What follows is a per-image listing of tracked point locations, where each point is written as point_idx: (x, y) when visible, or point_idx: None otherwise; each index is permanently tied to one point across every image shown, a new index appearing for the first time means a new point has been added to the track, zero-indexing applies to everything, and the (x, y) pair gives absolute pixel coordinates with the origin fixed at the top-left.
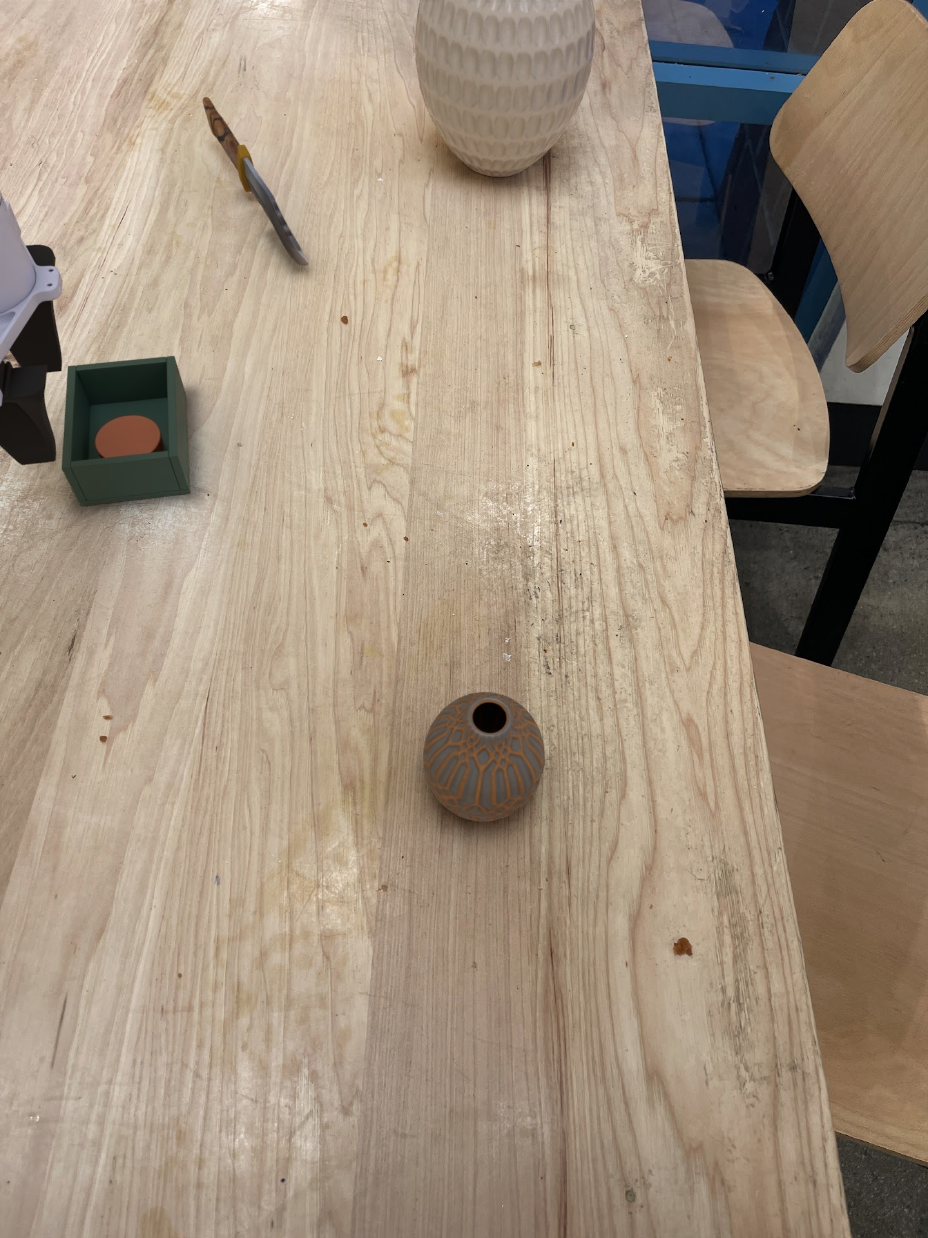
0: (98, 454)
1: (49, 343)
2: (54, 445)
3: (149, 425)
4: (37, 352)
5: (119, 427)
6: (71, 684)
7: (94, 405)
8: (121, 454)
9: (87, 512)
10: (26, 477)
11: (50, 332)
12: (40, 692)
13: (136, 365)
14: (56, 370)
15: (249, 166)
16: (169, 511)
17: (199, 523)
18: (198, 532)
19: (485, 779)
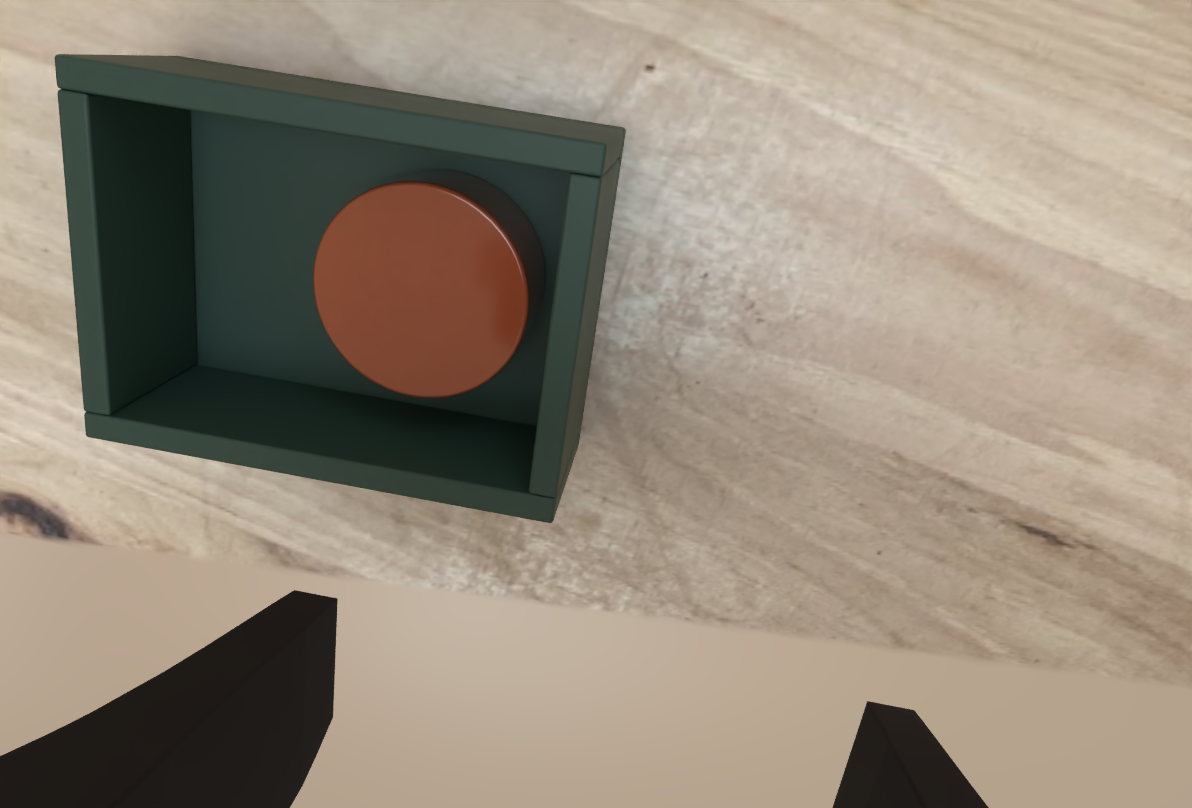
0: None
1: (255, 707)
2: (932, 753)
3: (376, 214)
4: (281, 736)
5: (365, 313)
6: (1169, 556)
7: (200, 353)
8: (491, 327)
9: (604, 432)
10: (433, 553)
11: (211, 730)
12: (1151, 621)
13: (99, 212)
14: (335, 620)
15: None
16: (678, 208)
17: (761, 122)
18: (798, 133)
19: None
